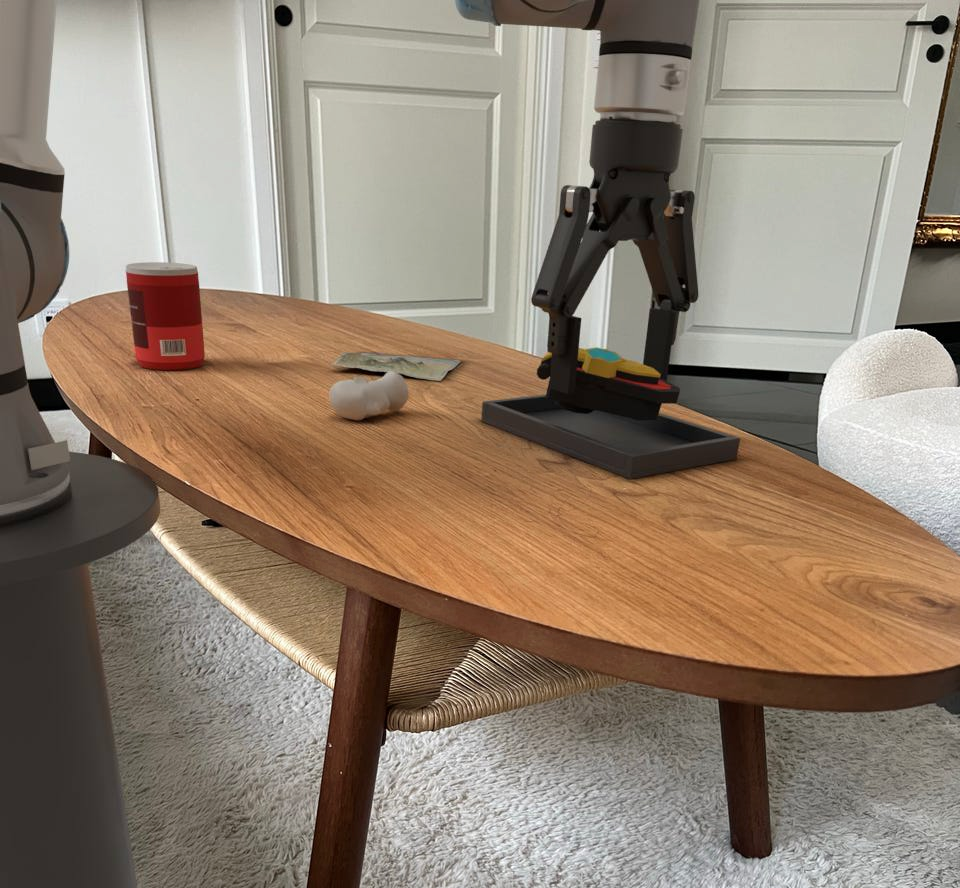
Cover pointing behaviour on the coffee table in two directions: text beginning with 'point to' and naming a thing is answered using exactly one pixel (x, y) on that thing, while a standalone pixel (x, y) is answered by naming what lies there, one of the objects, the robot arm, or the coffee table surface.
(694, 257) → the robot arm
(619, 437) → the dark gray tray
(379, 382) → the smooth white sculpture
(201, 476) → the coffee table surface
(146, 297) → the canned food
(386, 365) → the topographic map
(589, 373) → the gadget
